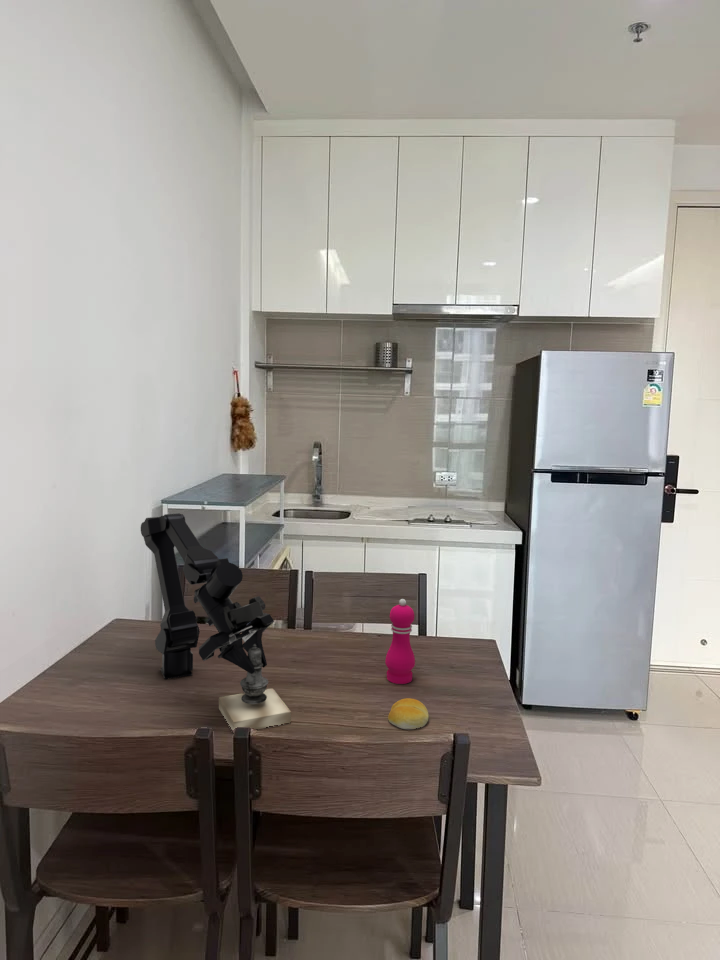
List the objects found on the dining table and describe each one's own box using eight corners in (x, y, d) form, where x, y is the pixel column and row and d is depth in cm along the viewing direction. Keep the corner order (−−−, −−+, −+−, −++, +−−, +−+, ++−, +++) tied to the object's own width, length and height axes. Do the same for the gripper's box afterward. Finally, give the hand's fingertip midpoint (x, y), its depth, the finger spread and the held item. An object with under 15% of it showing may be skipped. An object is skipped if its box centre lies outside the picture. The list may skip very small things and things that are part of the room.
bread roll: (385, 728, 133) (385, 709, 132) (393, 709, 141) (394, 691, 141) (424, 734, 131) (425, 715, 130) (431, 714, 139) (431, 696, 139)
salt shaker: (262, 706, 132) (263, 650, 131) (235, 702, 133) (235, 647, 132) (272, 693, 138) (272, 639, 136) (246, 690, 139) (246, 637, 137)
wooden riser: (233, 734, 128) (233, 722, 127) (218, 708, 138) (218, 697, 138) (290, 723, 133) (290, 711, 133) (272, 699, 144) (272, 688, 143)
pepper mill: (378, 678, 157) (381, 598, 154) (397, 670, 162) (400, 592, 160) (401, 687, 152) (404, 605, 150) (420, 679, 157) (423, 599, 155)
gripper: (210, 597, 127) (253, 664, 122) (268, 577, 143) (308, 635, 139) (180, 628, 131) (221, 693, 127) (239, 605, 147) (277, 662, 143)
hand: (259, 669), depth 134 cm, fingers closed on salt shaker, 4 cm apart
